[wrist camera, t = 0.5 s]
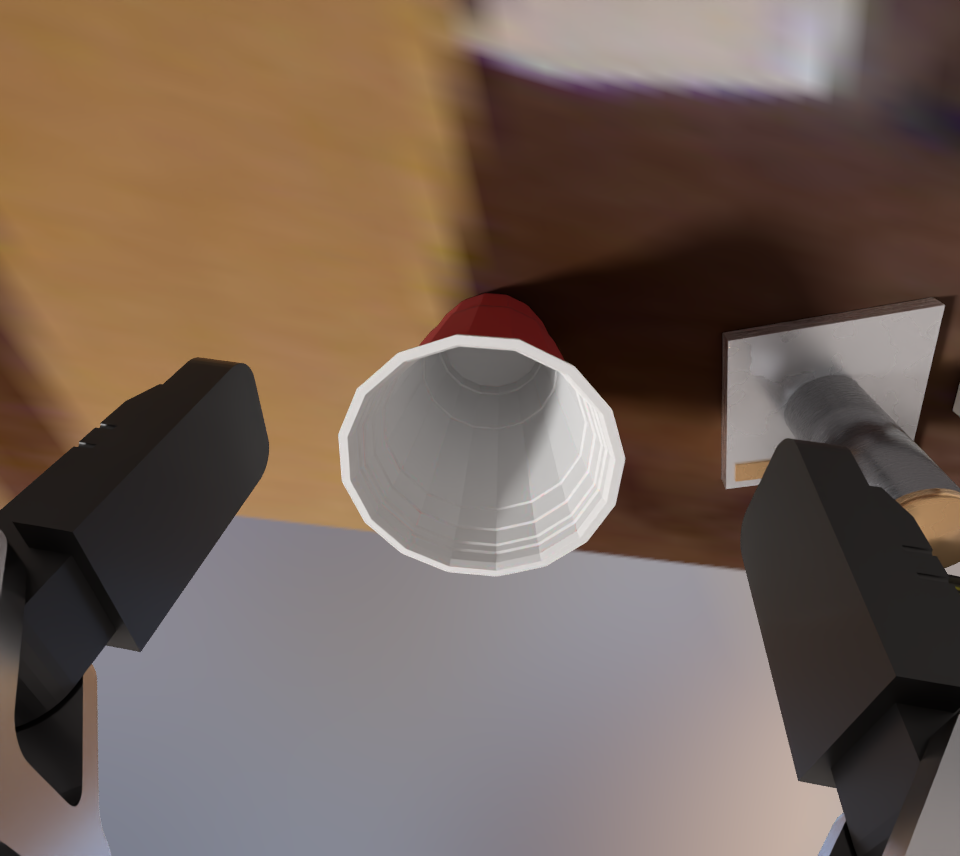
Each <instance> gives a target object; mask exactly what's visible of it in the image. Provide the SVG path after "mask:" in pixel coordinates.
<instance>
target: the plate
mask: <svg viewBox="0 0 960 856" xmlns="http://www.w3.org/2000/svg"><path fill="white" fill-rule="evenodd" d="M944 307H945V305H944V304H943V303H941V302H940V301H938V300H936V299H935V298H933V297H931V298H925V299H920V300H914V301H908V302H902V303H896V304H890V305H884V306H878V307H872V308H866V309H860V310H854V311H848V312H843V313H837V314H831V315H825V316H819V317H813V318H807V319H801V320H795V321H789V322H783V323H777V324H771V325H765V326H760V327H754V328H748V329H742V330H736V331H730V332H724V333H722V457H721V479H722V481H723V483H724V486H725V488H726V489H730V488H738V487H746V486H754V485H759V483H760V481H761V479H762V477H763V475H764V472H765V470H766V468H767V466H768V464H769V462H770V460H771V458H772V455H773V453H774V451H775V449H776V448H777V446H778V445H779V443H780V442H781V441H782V440H784V439H786V438H790V439H796V438H795V437H794V435H793V434H792V432H791V431H790V429H789V428H788V426H787V425H786V422H785V419H784V410H785V407H786V404H787V402H788V400H789V398H790V397H791V396H792V394H793V393H794V392H795V391H796V390H797V389H799V388H800V387H801V386H802V385H804V384H806V383H807V382H809V381H811V380H813V379H816V378H819V377H823V376H828V375H841V376H846V377H849V378H851V379H853V380H854V381H856V382H857V383H858V384H859V385H860V386H861V387H862V388H863V389H864V390H865V391H866V392H867V393H868V394H869V395H870V397H871V398H872V399H873V400H874V401H875V402H876V403H877V404H878V405H879V406H880V407H881V408H882V409H883V410H884V411H885V412H886V413H887V414H888V415H889V416H890V417H891V418H892V419H893V420H894V421H895V422H896V423H897V424H898V425H899V426H900V427H901V428H902V430H903V431H904V432H905V433H906V434H907V435H908V436H909V437H910V438H911V439H912V440H913V441H914V438H915V433H916V429H917V425H918V420H919V416H920V412H921V407H922V403H923V399H924V394H925V390H926V385H927V381H928V377H929V372H930V368H931V364H932V359H933V355H934V351H935V346H936V342H937V338H938V333H939V329H940V325H941V320H942V316H943V312H944Z"/></svg>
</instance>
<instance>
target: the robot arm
mask: <svg viewBox="0 0 960 856" xmlns="http://www.w3.org/2000/svg"><path fill="white" fill-rule="evenodd" d="M100 424H101V426H100V428H94V429H93V430H92V431H91V432H90V433H89V434H87V435H86V436H85V437H84V438H83V439H82V440H81V441H79V446H78V447H72V448H71V449H70V450H69V451H68V452H67V453H66V454H64V455H63V456H62V457H61V458H60V459H59V460H58V461H56V462H55V463H54V464H53V465H52V466H51V467H50V468H48V469H47V470H46V471H45V472H44V473H43V474H41V475H40V476H39V477H38V478H37V479H36V480H35V481H33V482H32V483H31V484H30V485H29V486H28V487H27V488H25V489H24V490H23V491H22V492H21V493H20V494H18V495H17V496H16V497H15V498H14V499H13V500H12V501H10V502H9V503H8V504H7V505H6V506H5V507H4V508H2V509H1V510H0V856H112V855H111V851H110V848H109V845H108V843H107V840H106V838H105V835H104V832H103V829H102V825H101V820H100V814H99V787H98V717H97V716H98V710H97V675H96V671H95V669H94V666H93V665H92V663H93V661H94V660H95V659H96V657H97V656H98V654H99V653H100V652H101V651H102V649H103V648H104V647H105V645H107V646H113V647H117V648H123V649H128V650H133V651H138V652H141V651H142V649H143V648H144V646H145V645H146V643H147V642H148V641H149V639H150V638H151V636H152V635H153V633H154V632H155V630H156V629H157V627H158V626H159V625H160V623H161V622H162V620H163V619H164V617H165V616H166V615H167V613H168V612H169V610H170V609H171V607H172V606H173V604H174V603H175V602H176V600H177V599H178V597H179V596H180V594H181V593H182V591H183V590H184V588H185V587H186V586H187V584H188V583H189V581H190V580H191V578H192V577H193V575H194V574H195V572H196V571H197V570H198V568H199V567H200V565H201V564H202V563H203V561H204V559H205V558H206V557H207V555H208V554H209V552H210V551H211V550H212V548H213V547H214V545H215V544H216V542H217V541H218V539H219V538H220V537H221V535H222V534H223V532H224V531H225V529H226V528H227V526H228V525H229V524H230V522H231V521H232V519H233V518H234V516H235V515H236V513H237V512H238V511H239V509H240V508H241V506H242V505H243V503H244V502H245V500H246V499H247V498H248V496H249V495H250V493H251V492H252V490H253V489H254V487H255V486H256V485H257V483H258V482H259V480H260V479H261V477H262V475H263V473H264V471H265V468H266V465H267V461H268V455H269V441H268V436H267V432H266V427H265V423H264V418H263V414H262V410H261V405H260V401H259V396H258V392H257V388H256V383H255V379H254V375H253V373H252V371H251V369H250V368H249V367H248V366H247V365H246V364H243V363H236V362H229V361H221V360H214V359H206V358H199V357H198V358H193V359H191V360H190V361H188V362H187V363H186V364H185V365H184V366H183V367H182V368H180V369H179V370H178V371H177V372H176V373H175V374H174V375H173V376H172V377H171V378H169V379H168V380H167V381H166V382H165V383H164V384H163V385H162V384H159V385H157V386H155V387H153V388H151V389H149V390H147V391H145V392H143V393H141V394H139V395H137V396H135V397H133V398H131V399H129V400H127V401H125V402H124V403H123V404H122V405H121V406H120V407H118V408H117V409H116V410H115V411H114V412H113V413H112V414H110V415H109V416H108V417H107V418H106V419H105V420H104V421H102V422H101V423H100ZM932 551H933V549H932V547H931V545H930V544H929V542H928V540H927V539H926V537H925V535H924V534H923V532H922V530H921V529H920V527H919V525H918V523H917V522H916V520H915V518H914V517H913V516H912V515H911V514H910V513H909V512H908V511H907V510H906V509H904V508H903V507H902V506H901V505H900V504H899V503H898V502H897V501H896V500H895V499H894V498H892V497H891V496H890V495H889V494H888V493H887V492H886V491H885V490H884V489H883V488H882V487H876V486H869V484H868V482H867V480H866V478H865V477H864V475H863V473H862V471H861V469H860V467H859V465H858V464H857V462H856V460H855V458H854V456H853V454H852V453H851V451H850V450H849V449H848V448H847V447H845V446H842V445H835V444H827V443H820V442H813V441H805V440H798V439H790V438H786V439H784V440H782V441H781V442H780V443H779V445H778V446H777V448H776V449H775V451H774V453H773V455H772V458H771V460H770V462H769V464H768V466H767V468H766V470H765V472H764V475H763V477H762V479H761V481H760V483H759V485H758V487H757V489H756V491H755V494H754V496H753V498H752V500H751V502H750V504H749V506H748V508H747V511H746V513H745V516H744V519H743V523H742V528H741V553H742V558H743V562H744V566H745V570H746V574H747V577H748V581H749V586H750V590H751V593H752V598H753V602H754V605H755V609H756V613H757V617H758V622H759V625H760V629H761V633H762V638H763V641H764V646H765V650H766V653H767V657H768V662H769V665H770V670H771V674H772V678H773V682H774V686H775V690H776V694H777V697H778V701H779V705H780V710H781V714H782V717H783V722H784V725H785V730H786V734H787V737H788V742H789V745H790V749H791V753H792V757H793V761H794V765H795V769H796V774H797V778H798V781H802V782H807V783H812V784H817V785H823V786H828V787H833V788H837V792H838V795H839V798H840V802H841V805H842V808H843V812H844V813H842V814H841V815H840V816H839V817H838V818H837V819H836V821H835V822H834V824H833V825H832V828H831V830H830V832H829V834H828V836H827V838H826V840H825V842H824V844H823V846H822V848H821V850H820V852H819V854H818V856H960V594H959V593H958V591H957V589H956V588H955V586H954V585H951V584H949V581H948V580H949V578H950V577H949V576H948V574H947V572H946V571H945V569H944V567H943V566H942V564H941V562H940V561H939V559H938V557H937V556H933V555H932Z"/></svg>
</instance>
